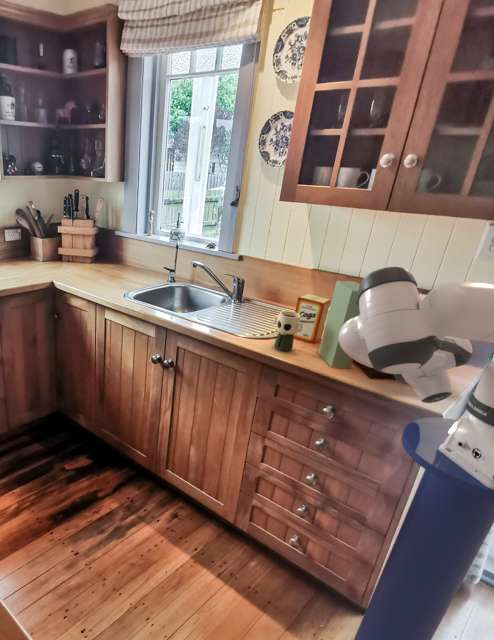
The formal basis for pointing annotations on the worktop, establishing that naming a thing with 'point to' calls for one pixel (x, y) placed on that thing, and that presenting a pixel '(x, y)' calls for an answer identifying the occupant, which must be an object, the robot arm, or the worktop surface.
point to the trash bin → (374, 372)
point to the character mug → (287, 329)
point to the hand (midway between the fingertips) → (405, 315)
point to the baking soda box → (311, 317)
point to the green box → (339, 323)
